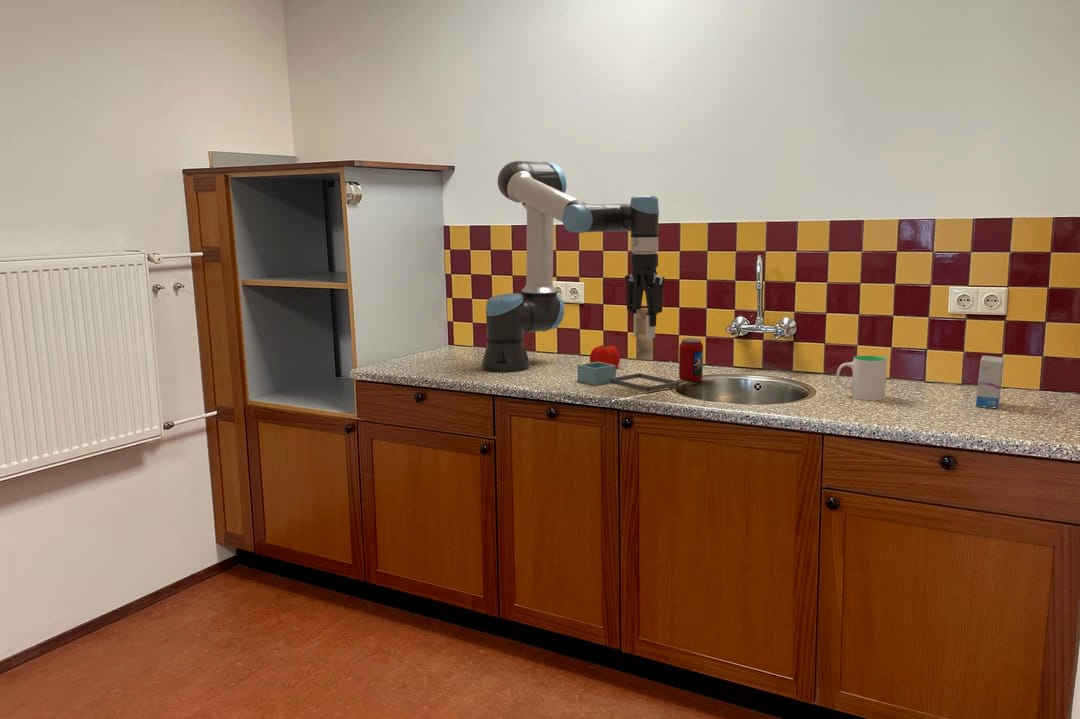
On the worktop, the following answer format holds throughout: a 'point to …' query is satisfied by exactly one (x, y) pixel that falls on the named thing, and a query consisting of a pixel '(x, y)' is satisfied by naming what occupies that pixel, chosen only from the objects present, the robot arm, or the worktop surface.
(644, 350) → the dowel
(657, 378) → the dark grey rectangular frame
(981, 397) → the ink box
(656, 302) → the robot arm
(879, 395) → the mug
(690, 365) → the beverage can
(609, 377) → the teal open box
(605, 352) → the tomato
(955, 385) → the worktop surface
